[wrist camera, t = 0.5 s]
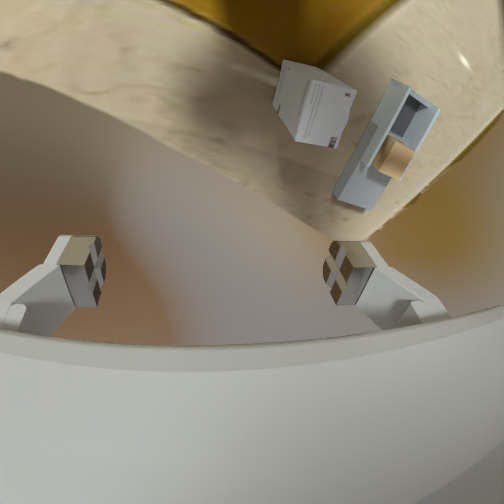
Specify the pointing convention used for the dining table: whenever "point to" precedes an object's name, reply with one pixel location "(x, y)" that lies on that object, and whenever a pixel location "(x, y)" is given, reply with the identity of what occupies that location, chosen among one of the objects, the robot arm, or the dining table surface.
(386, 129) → the trap trough
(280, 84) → the skincare box
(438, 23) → the dining table surface
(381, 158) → the oak block
